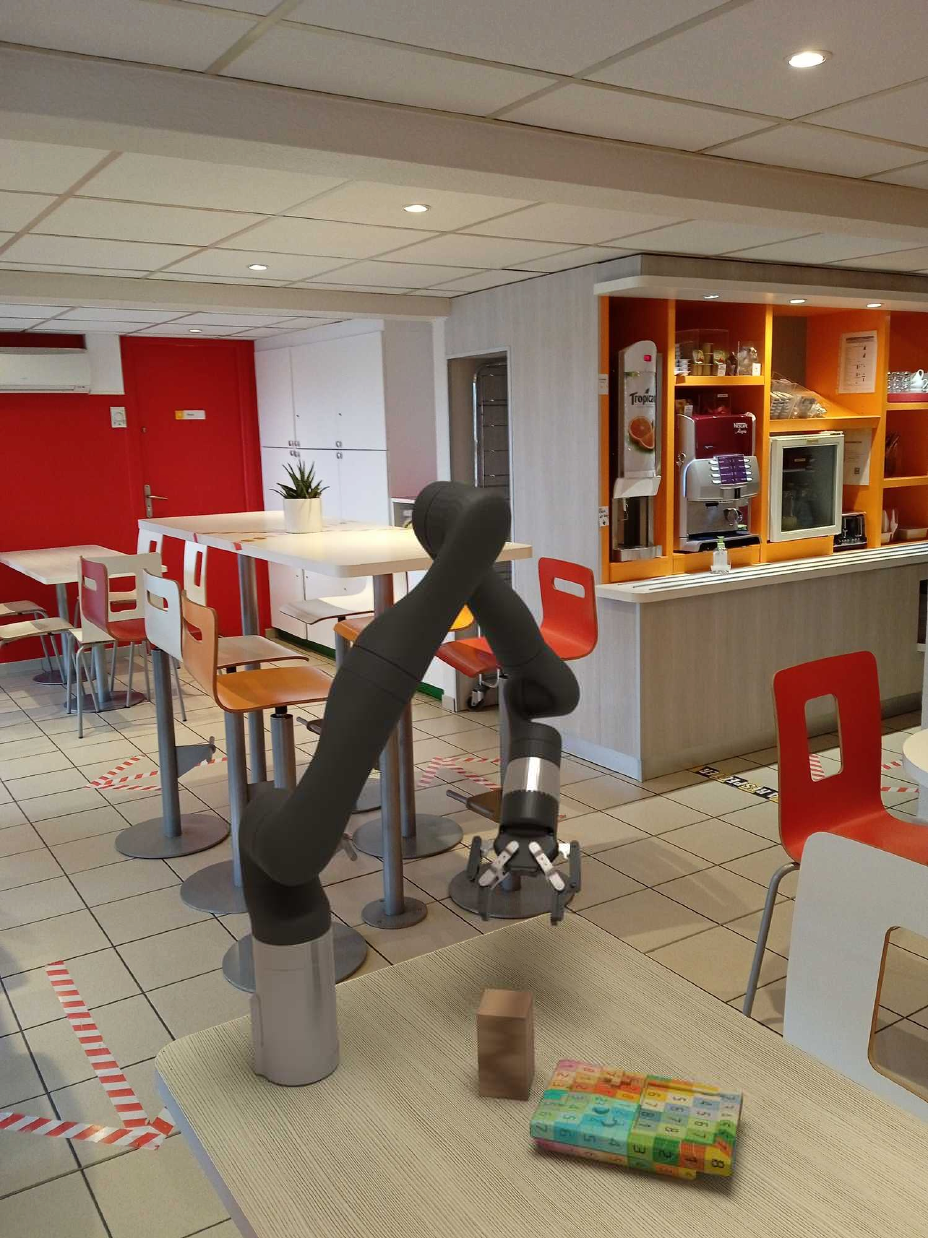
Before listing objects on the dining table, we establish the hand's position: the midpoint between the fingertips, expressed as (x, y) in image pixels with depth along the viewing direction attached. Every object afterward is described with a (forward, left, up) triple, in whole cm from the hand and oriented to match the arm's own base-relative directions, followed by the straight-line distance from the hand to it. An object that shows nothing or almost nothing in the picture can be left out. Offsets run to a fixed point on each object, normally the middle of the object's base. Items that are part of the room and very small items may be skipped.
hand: (519, 921), depth 125 cm
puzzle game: (+15, -18, -15) cm, 28 cm away
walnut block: (0, -11, -15) cm, 18 cm away
